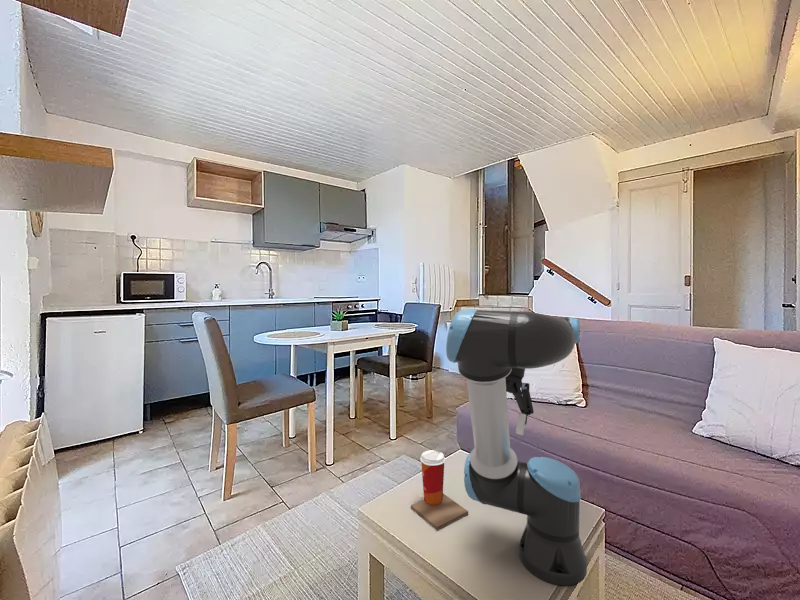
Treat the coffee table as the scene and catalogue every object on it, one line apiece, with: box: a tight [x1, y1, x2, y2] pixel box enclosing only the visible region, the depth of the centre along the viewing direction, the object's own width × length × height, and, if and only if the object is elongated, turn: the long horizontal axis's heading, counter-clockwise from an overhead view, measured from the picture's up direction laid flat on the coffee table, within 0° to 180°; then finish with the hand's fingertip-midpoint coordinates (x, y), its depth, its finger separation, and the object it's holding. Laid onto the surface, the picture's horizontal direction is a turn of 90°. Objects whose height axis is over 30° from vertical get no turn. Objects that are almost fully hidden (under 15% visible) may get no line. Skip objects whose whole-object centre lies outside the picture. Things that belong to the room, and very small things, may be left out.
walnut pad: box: [410, 493, 469, 531], centre depth 106 cm, size 12×12×1 cm
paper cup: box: [419, 449, 446, 505], centre depth 110 cm, size 8×8×14 cm
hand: (502, 430), depth 113 cm, fingers open, 13 cm apart
